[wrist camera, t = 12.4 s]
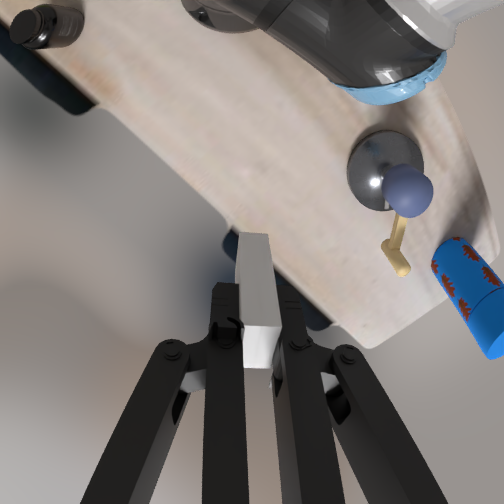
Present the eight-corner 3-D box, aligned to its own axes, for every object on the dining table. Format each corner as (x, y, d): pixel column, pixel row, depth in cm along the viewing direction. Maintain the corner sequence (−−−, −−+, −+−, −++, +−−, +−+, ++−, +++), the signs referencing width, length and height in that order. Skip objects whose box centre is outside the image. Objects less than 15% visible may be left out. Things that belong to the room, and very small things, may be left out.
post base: (346, 131, 45) (359, 141, 40) (422, 130, 44) (441, 140, 39) (346, 210, 53) (357, 228, 48) (415, 204, 52) (431, 220, 47)
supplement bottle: (67, 1, 29) (25, -7, 19) (93, 21, 32) (53, 15, 22) (42, 35, 32) (-4, 37, 22) (65, 55, 35) (22, 60, 25)
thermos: (473, 234, 57) (538, 311, 36) (461, 273, 63) (514, 351, 42) (436, 238, 57) (502, 325, 36) (425, 279, 63) (477, 366, 42)
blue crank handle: (384, 161, 41) (405, 179, 36) (423, 164, 42) (447, 182, 36) (367, 251, 50) (382, 277, 44) (403, 250, 50) (420, 275, 45)
